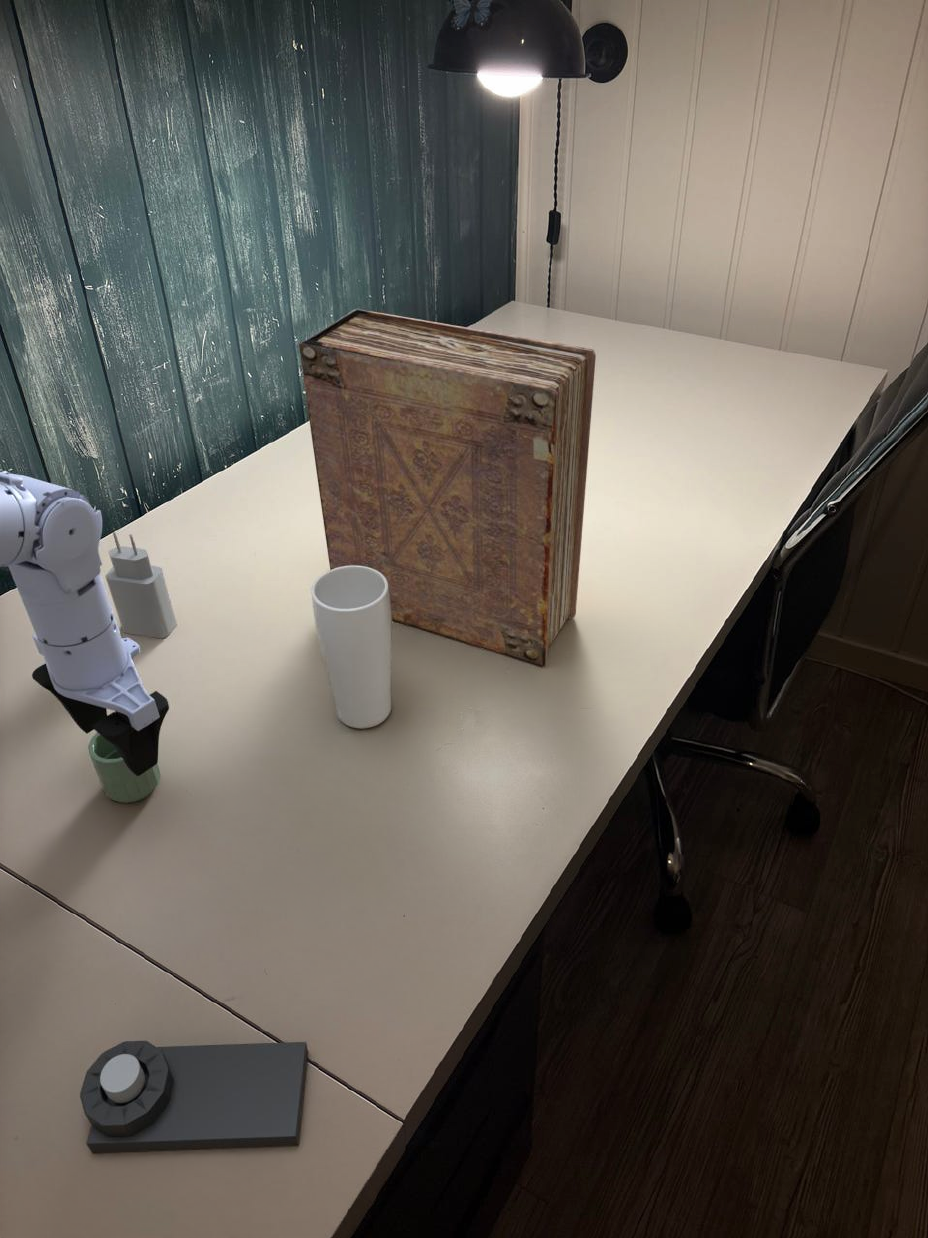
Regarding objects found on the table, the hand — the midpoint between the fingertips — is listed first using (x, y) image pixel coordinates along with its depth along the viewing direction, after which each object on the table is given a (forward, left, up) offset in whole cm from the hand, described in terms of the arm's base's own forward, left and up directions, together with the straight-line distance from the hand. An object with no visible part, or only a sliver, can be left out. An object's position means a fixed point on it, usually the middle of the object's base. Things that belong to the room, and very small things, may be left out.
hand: (119, 746), depth 78 cm
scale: (+1, -30, -5) cm, 30 cm away
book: (+36, +11, -5) cm, 38 cm away
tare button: (-4, -28, -2) cm, 29 cm away
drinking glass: (+22, 0, -5) cm, 22 cm away
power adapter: (+5, +22, -5) cm, 23 cm away
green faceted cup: (0, 0, -5) cm, 5 cm away
